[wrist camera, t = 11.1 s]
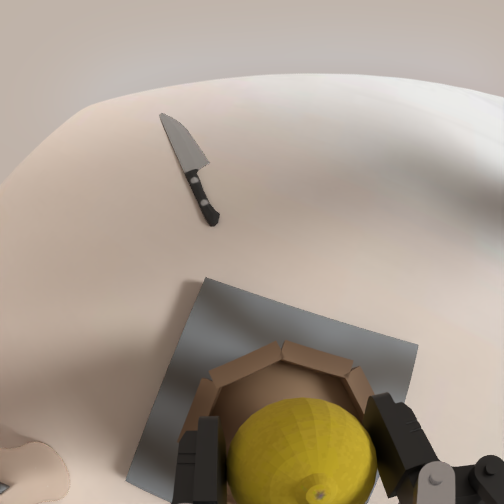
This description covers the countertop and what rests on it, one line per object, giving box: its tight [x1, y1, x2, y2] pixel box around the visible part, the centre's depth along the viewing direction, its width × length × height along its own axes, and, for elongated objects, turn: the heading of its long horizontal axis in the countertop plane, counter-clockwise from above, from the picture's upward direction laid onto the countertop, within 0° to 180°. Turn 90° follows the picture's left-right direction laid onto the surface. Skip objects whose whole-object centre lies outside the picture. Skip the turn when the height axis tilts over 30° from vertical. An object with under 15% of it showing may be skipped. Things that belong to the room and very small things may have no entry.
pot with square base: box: [125, 277, 418, 504], centre depth 18 cm, size 18×18×9 cm
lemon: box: [226, 397, 378, 504], centre depth 10 cm, size 6×6×8 cm
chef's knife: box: [159, 113, 220, 226], centre depth 32 cm, size 19×1×3 cm
